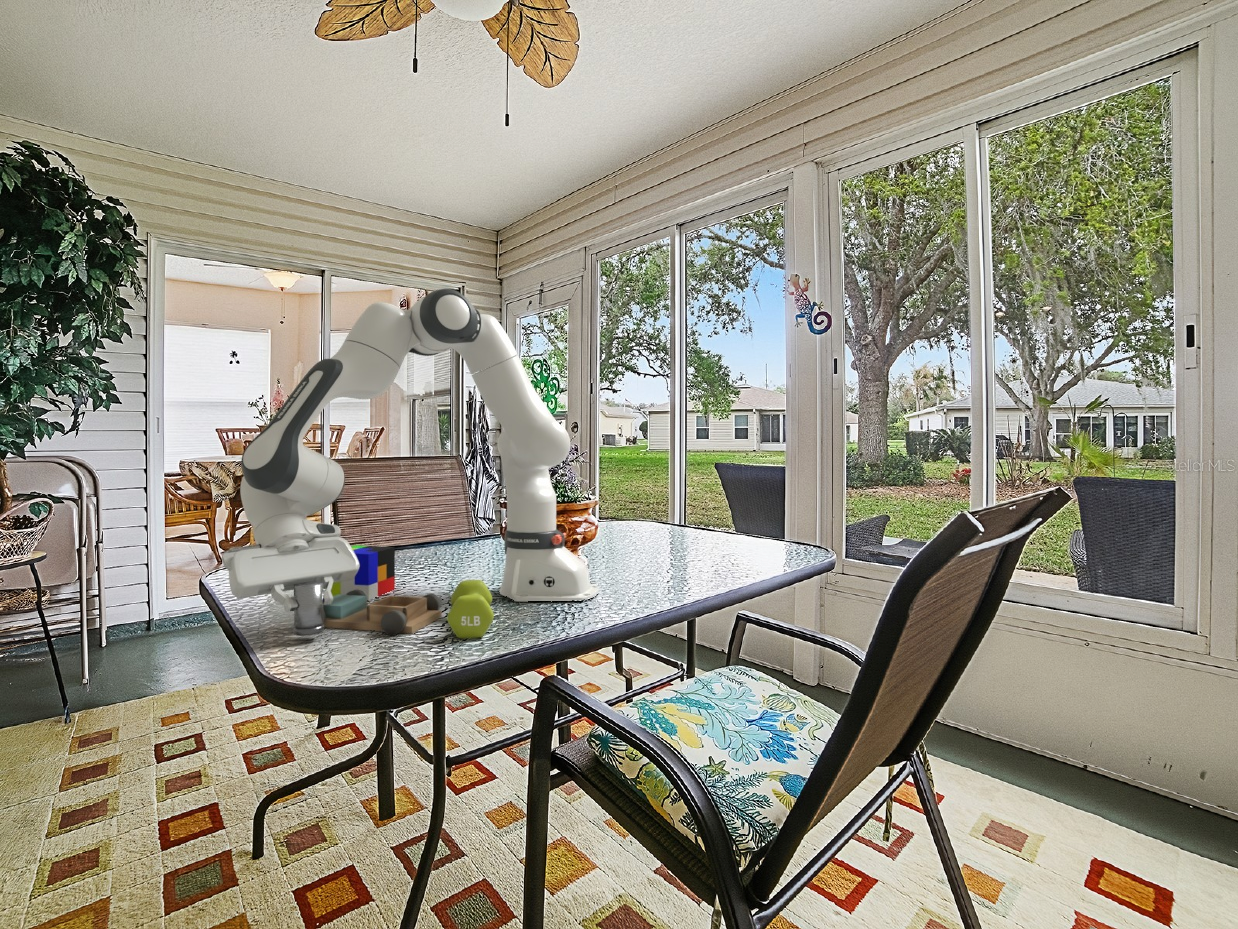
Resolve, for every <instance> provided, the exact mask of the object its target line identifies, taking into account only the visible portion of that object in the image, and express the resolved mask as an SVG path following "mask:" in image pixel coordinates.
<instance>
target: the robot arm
mask: <svg viewBox="0 0 1238 929" xmlns="http://www.w3.org/2000/svg"><path fill="white" fill-rule="evenodd" d="M450 349H452V350H454V351H456V352H457V353H458V354H459V355H460V357H461V358H462V359H463V361H464V362H465V364H466V367H467V369H468V371H469V373H470V375H471V377H472V380H473V382H474V384H475V385H476V388H477V390H478V392H479V394H480V396H481V398H482V401H483V403H484V404H485V406H486V408H487V409H488V411H490V412H491V414H492V415H493V416H494V418H496V420H497V421H498V423H499V424H500V425H501V427H502V431H501V432H500V434H499V436H498V438H497V443H496V444H497V445H496V446H497V451H498V453H499V456H500V459H501V466H502V473H503V479H504V484H505V489H506V490H505V491H506V530H505V531H504V554H505V563H504V571H503V577H502V580H501V584H500V588H499V592H500V593H499V592H498V593H499V594H500V595H501V596H504V597H506V596H507V597H506V598H509V599H510V600H511V599H513V600H514V601H513V600H512V601H513V602H528V601H551V602H552V601H572V600H583V599H588V598H590V597H592V596H594V595H595V594H596V593H597V592H598V591H599V590H600V587H599V585H598V584H594V583H591V579H590V573H589V572H590V571H589V568H588V566H587V564H586V563H585V562H584V561H583V560H582V559H580V558H579V557H578V556H577V555H575V554H574V553H573V552H572V551H570V550H569V549H568V548H567V547H565V539H566V535H567V533H566V532H563V533H562V532H561V531H560V530H558V528H557V494H556V492H555V490H554V487H553V484H552V480H551V474H550V471H549V469H551V468H553V467H556V466H558V465H559V464H561V463H562V462H563V461H565V459H566V458H567V457H568V456H569V454H570V451H571V438H570V435H569V433H568V431H567V429H566V428H565V427H564V426H562V424H560V423H559V422H558V421H557V420H556V418H555V417H554V415H553V414H552V413H551V412H550V410H549V408H548V406H546V404H545V402H544V401H543V400H542V399H541V397H540V395H539V394H538V392H537V390H536V389H535V387H534V386H533V384H532V382H531V380H530V378H529V375H528V374H527V371H526V369H525V366H524V365H523V363H522V361H521V359H520V356H519V354H518V352H517V349H516V348H515V346H514V344H513V342H512V341H511V339H510V337H509V335H508V334H507V332H506V331H505V329H504V328H503V326H502V324H501V323H500V322H499V321H498V319H497V318H496V317H495V316H493V315H491V314H487V313H486V314H485V313H481V314H480V311H479V310H478V309H477V308H476V307H475V306H474V305H473V304H472V303H471V301H470V300H469V299H468V298H467V297H466V296H465V295H463V294H462V293H461V292H459V291H457V290H455V289H451V288H441V289H437V290H433V291H431V292H429V293H428V294H427V295H425V296H423V297H422V298H420V299H418V300H417V301H416V302H415V303H414V304H413V305H412V306H411V307H409V308H408V309H403V308H400V307H399V306H397V305H395V304H393V303H389V302H383V301H381V302H380V301H378V302H374V303H371V304H370V305H368V307H367V308H365V310H364V311H363V313H362V314H360V316H359V317H358V318H357V320H356V321H355V323H354V324H353V326H352V328H351V329H350V331H349V332H348V333H347V336H346V337H345V339H344V341H343V343H342V344H341V347H340V348H339V349H338V351H337V352H335V354H334V355H332V356H331V357H330V358H325V359H321V360H319V361H318V362H317V363H315V364H314V365H313V366H312V367H311V368H310V369H309V370H308V372H306V374H305V375H304V377H303V378H302V379H301V380H300V381H299V383H298V384H297V385H296V387H295V388H294V390H292V391H291V393H290V395H289V396H288V398H287V399H286V400H285V401H284V402H283V404H282V406H281V407H280V408H279V410H278V411H277V412H276V413H275V415H274V416H273V418H272V419H271V421H269V423H268V424H267V426H266V427H265V428H263V430H262V431H261V432H259V433H258V435H257V436H255V437H254V438H253V439H252V440H251V441H250V442H249V443H248V444H247V446H246V447H245V449H244V451H243V453H242V455H241V460H240V461H241V471H242V475H243V477H242V478H241V482H240V489H239V490H240V499H241V503H242V507H243V510H244V515H245V517H246V519H247V522H248V523H249V524H250V525H251V526H252V536H253V538H254V542H255V544H251V545H250V544H249V545H246V546H234V547H230V548H229V549H228V550H225V551H224V552H223V553H222V555H221V561H222V563H223V567H224V568H225V569H226V570H228V580H229V581H228V583H229V588H230V591H231V594H232V596H234V597H235V598H237V599H245V598H253V597H258V596H263V595H264V596H265V595H271V598H272V599H274V600H275V601H276V602H278V603H279V604H280V605H282V606H283V609H284V611H285V613H291V612H294V611H296V608H297V607H298V604H297V602H296V598H295V597H294V596H292V597H290V596H289V595H288V594H286V592H288V591H294V585H295V584H298V583H302V582H311V581H318V582H323V590H324V591H323V605H327V604H331V603H332V601H333V596H332V594H331V588H332V585H333V583H337V582H343V581H349V580H352V579H353V578H354V577H355V575H356V574H357V572H358V570H359V567H360V564H359V561H358V559H357V556H356V554H355V553H354V551H353V549H352V547H351V546H352V545H350V542H349V541H348V540H346V539H345V538H343V537H341V534H342V530H341V528H340V526H339V525H337V524H332V523H326V522H325V523H324V522H319V521H313V520H310V519H307V517H309V516H312V515H314V514H315V515H316V514H317V513H318V512H320V511H322V510H324V509H325V508H327V507H328V506H330V505H332V504H333V503H334V502H336V501H337V500H338V499H339V497H340V496H341V495H342V493H343V490H344V488H345V484H346V476H345V471H344V468H343V467H342V465H341V464H340V463H339V462H337V461H335V460H333V459H331V458H330V457H329V456H326V455H325V454H324V455H323V454H322V453H320V452H318V451H315V450H314V449H311V448H310V447H308V446H306V445H304V438H305V435H306V434H307V433H308V431H309V430H310V428H311V427H312V426H313V424H315V421H316V420H317V418H319V416H320V414H321V413H322V411H323V410H324V408H325V407H326V406H327V404H329V403H330V402H331V401H333V400H335V399H338V398H350V399H354V400H355V399H356V400H370V399H371V400H372V399H375V398H378V397H380V396H382V395H384V394H385V393H387V391H388V390H389V389H390V388H391V386H392V385H393V383H394V382H395V380H396V378H397V375H398V374H399V372H400V369H401V367H402V365H403V363H404V359H405V357H406V356H407V355H408V353H411V354H414V355H419V356H424V357H426V356H427V357H429V356H430V357H431V356H435V355H439V354H441V353H443V352H446V351H447V350H450ZM551 602H550V603H551ZM552 603H553V602H552Z"/></svg>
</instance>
